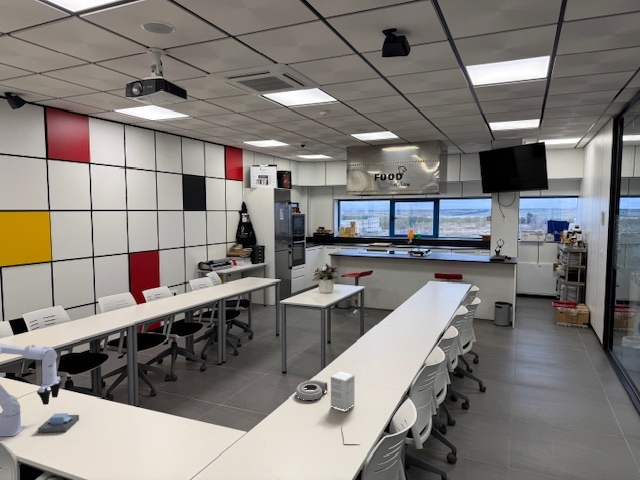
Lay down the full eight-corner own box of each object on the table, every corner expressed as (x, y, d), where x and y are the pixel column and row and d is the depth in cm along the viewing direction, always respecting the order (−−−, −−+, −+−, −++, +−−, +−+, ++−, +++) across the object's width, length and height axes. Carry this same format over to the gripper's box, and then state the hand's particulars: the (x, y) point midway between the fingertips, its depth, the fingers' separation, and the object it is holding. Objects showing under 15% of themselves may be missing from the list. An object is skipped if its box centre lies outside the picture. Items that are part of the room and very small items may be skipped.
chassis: (38, 433, 190) (38, 428, 190) (53, 420, 202) (53, 415, 201) (65, 432, 190) (65, 427, 190) (79, 419, 202) (78, 414, 202)
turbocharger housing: (290, 399, 228) (313, 406, 220) (290, 388, 227) (312, 394, 219) (308, 386, 242) (329, 392, 234) (307, 376, 242) (329, 381, 233)
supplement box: (340, 401, 223) (340, 370, 222) (354, 406, 218) (355, 374, 217) (330, 408, 215) (330, 376, 214) (345, 413, 210) (345, 380, 209)
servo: (47, 428, 194) (46, 417, 193) (52, 423, 198) (51, 413, 197) (67, 427, 194) (66, 417, 194) (71, 423, 198) (71, 413, 198)
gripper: (49, 378, 193) (50, 407, 194) (66, 367, 208) (67, 393, 208) (33, 379, 193) (34, 407, 194) (51, 367, 207) (52, 394, 208)
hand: (50, 400), depth 201 cm, fingers open, 7 cm apart
